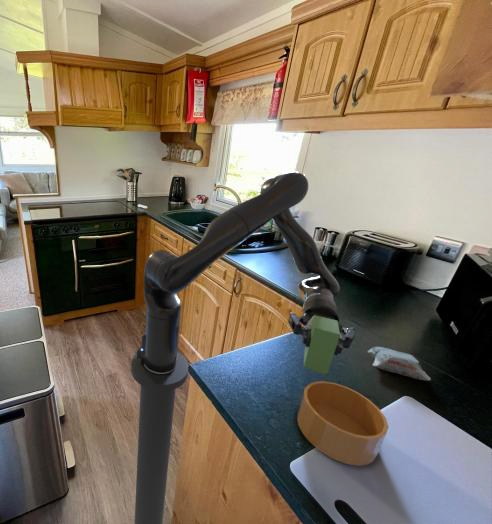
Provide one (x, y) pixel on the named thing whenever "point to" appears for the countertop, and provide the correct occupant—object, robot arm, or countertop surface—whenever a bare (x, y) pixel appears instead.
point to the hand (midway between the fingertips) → (322, 347)
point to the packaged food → (397, 363)
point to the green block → (321, 344)
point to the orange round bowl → (341, 423)
